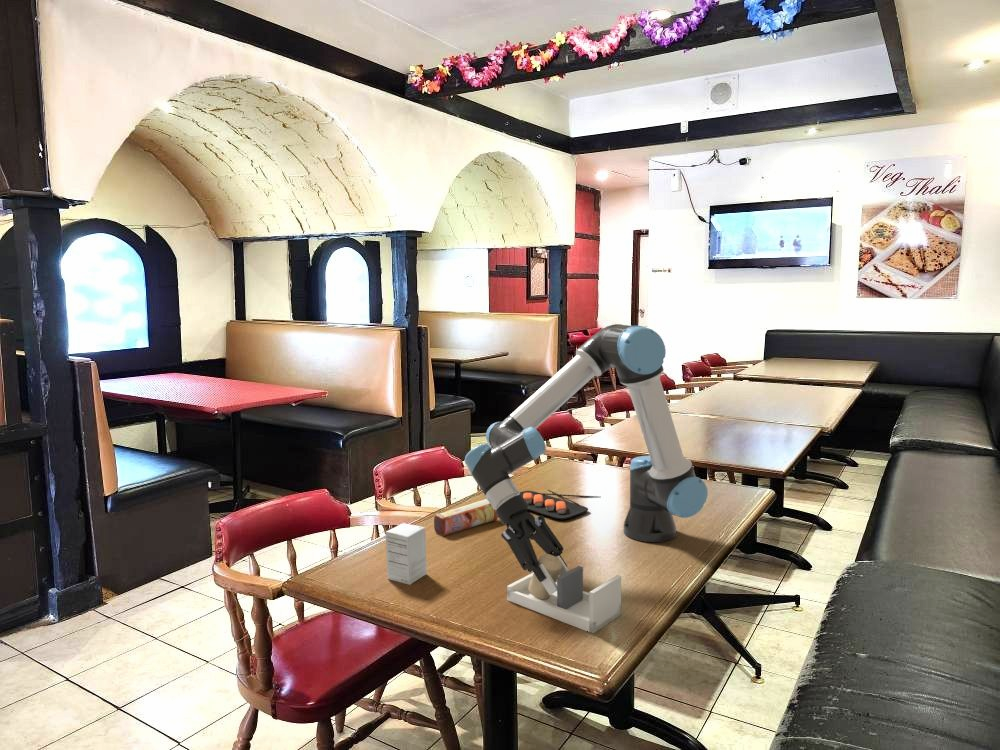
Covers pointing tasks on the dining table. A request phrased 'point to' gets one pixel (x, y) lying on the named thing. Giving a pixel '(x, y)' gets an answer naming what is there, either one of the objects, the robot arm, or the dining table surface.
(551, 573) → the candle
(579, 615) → the pusher lane
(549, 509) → the sushi plate
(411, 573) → the supplement box
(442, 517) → the snack package
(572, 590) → the plate
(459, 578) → the dining table surface
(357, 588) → the dining table surface
